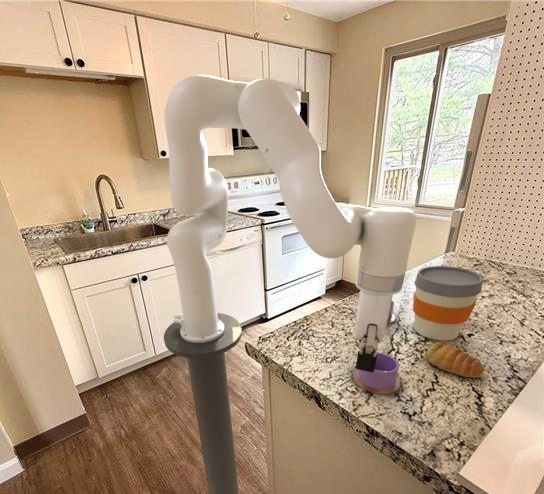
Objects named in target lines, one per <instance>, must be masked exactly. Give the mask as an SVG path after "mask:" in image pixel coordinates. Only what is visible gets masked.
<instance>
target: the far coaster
mask: <svg viewBox="0 0 544 494" xmlns="http://www.w3.org/2000/svg"><path fill="white" fill-rule="evenodd" d="M395 321H396V315H395V314H394V313H392V318H391V319H390V320H388V321H387V325H390V324H393V323H394V322H395Z"/></svg>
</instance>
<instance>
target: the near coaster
mask: <svg viewBox="0 0 544 494" xmlns="http://www.w3.org/2000/svg"><path fill="white" fill-rule="evenodd" d="M358 374H359V370H358V369H356V368H354V370H353V371H352V380H353V381H354V383H355V384H356V385H357V386H358V387H359V388H361V389H362V390H364V391H366V392H369V393H372V394H375V395H391V394H394V393H396V392H398V391H399V390H400V388H401V386H402V383H401V380H400V378H399V376H398V375H397V379H396V383H395V385H394V386H393V387H392V388H390V389H375V388H372V387H369V386H367V385H365V384H364V383H363V382H362V381H361V380H360V379H359V376H358Z"/></svg>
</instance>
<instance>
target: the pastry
mask: <svg viewBox="0 0 544 494" xmlns="http://www.w3.org/2000/svg"><path fill="white" fill-rule="evenodd" d="M425 359H426V360H427V361H428V362H429V363H430V364H431V365H432V366H435V367H438V368H439V369H440V370H443V371H445V372H449V373H451V374H455V375H457V376H459V377H460V376H461V377H465V378H473V379H475V378H480V376H482V375H483V373H484V372H485V367H484V366H483V365H482V363H481V362H480V361H478V360H477V358H475V357H473V356H471V355H470V354H469V353H468V352H464V351H463V350H462V349H461V348H460V347H455V346H454V345H452V344H444V343H442V341H441V342H440V341H437V342H435V343H434V344H432V346H431V347H430V348H429V350H428V351H427V353H426V355H425Z"/></svg>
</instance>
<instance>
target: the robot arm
mask: <svg viewBox="0 0 544 494" xmlns="http://www.w3.org/2000/svg"><path fill="white" fill-rule="evenodd" d="M300 112H301V101H300V97H299V94H298V93H297V91H296V89H295V88H294V86H292V85H290V84H289V83H286V82H283V81H281V80H276V79H274V78H268V77H263V78H258V79H255V80H253V81H251V82H245V81H235V80H230V79H225V78H221V77H217V76H213V75H206V74H195V75H190V76H187V77H185V78H183V79H181V80H180V81H179V82H178V83H176V84H175V85H174V86H173V88H172V90H171V91H170V93H169V96H168V97H167V100H166V103H165V109H164V125H165V132H166V139H167V147H168V167H169V187H170V199H171V205H172V207H173V209H174V211H176V213H178V214H179V215H182V216H191V215H195V216H192V217H189V218H186V219H184V220H181V221H179V222H177V223H175V224H174V225H173V226H172V227H171V228H170V229H169V231H168V233H167V236H166V244H167V248H168V251H169V253H170V256H171V259H172V262H173V265H174V269H175V274H176V280H177V285H178V292H179V298H180V305H181V311H182V313H178V312H175V314H174V317H173V318H174V319H173V323H176V324H181V325H182V327H181V329H180V333H181V336H182V338H183V339H184V340H186V341H189V342H193V343H204V342H209V341H212V340H215V339H217V338H218V337H220V336H221V335H222V334H223V332H224V324H223V323H222V321H220V320H218V315H217V313H218V307H217V298H216V288H215V287H216V286H215V278H214V272H213V268H212V266H211V263H210V261H209V260H208V257H207V253H209V251H212V250H214V249H215V248H217V247H219V246H220V245H221V244H222V243H223V242H224V241H225V240H226V239H225V238H226V236H227V230H228V212H229V187H228V184H227V180H226V178H225V177H224V175H223V174H222V173H221V172H220V171H219V170H217V169H216V168H211V167H209V166H208V165H209V163H208V162H209V152H208V150H209V149H208V146H207V142H206V138H205V137H204V134H203V130H204V129H208V128H211V129H237V130H238V129H239V130H245V131H246V132H247V133H248V135H249V137H250V138H251V139H252V141H253V142H254V144H255V146H256V147H257V149H258V150H259V152H260V153H261V154H262V156H263V158H264V159H265V160H266V162H267V164H268V165H269V167H270V168H271V170H272V171H273V173H274V175H275V176H276V178H277V181H278V185H279V191H280V193H281V196H282V197H281V198H282V201H283V204H284V207H285V209H286V212H287V214H288V216H289V218H290V220H291V222H292V224H293V225H294V227H295V228H296V230H297V232H298V233H299V234H300V236H301V237H302V239H303V240H304V243H306V245H307V246H308V247H309V248H310V249H311V250H312V252H314V253H315V254H316V255H318V256H320V257H322V258H325V259H339V258H341V257H343V256H345V255H346V254H348V253H349V252H350V251H351V250H352V249H353V248H354V246H356V245H358V246H360V251H359V258H358V265H357V272H356V277H355V278H356V280H355V287H356V288H357V289H358V290H360V291H359V295H358V302H357V308H356V313H355V314H356V315H355V321H354V329H353V338H354V340H356V341H357V340H358V342H359V343H360V347H359V350H358V351H357V355H356V356H357V357H356V363H355V369H358V370H363V371H368V372H374V369H375V364H376V359H377V354H376V353H377V352H378V345H379V344H381V343H382V342H383V341H384V336H385V332H386V328H387V325H388V324H387V321H388V316H389V312H390V307H391V302H392V301H393V296H394V295H396V294H399V293H401V292H402V289H403V287H404V286H403V285H404V281H405V276H406V271H407V267H408V263H409V262H408V261H409V257H410V252H411V248H412V243H413V238H414V234H415V229H416V226H417V215H416V213H415V212H414V211H412V210H411V209H408V208H403V207H380V208H373V207H366V206H361V205H357V204H356V205H355V204H340V205H338V204H337V203H336V201H335V200H334V198H333V197H332V194H331V193H330V191H329V189H328V188H327V185H326V182H325V180H324V177H323V174H322V168H321V167H322V166H321V160H322V152H321V147H320V145H319V142H318V141H317V139H316V138H315V137H314V135H313V134H312V132H311V131H310V129H309V127H308V126H307V124H306V123H305V121H304V120H303V118H302V117H301V116H300Z"/></svg>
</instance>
